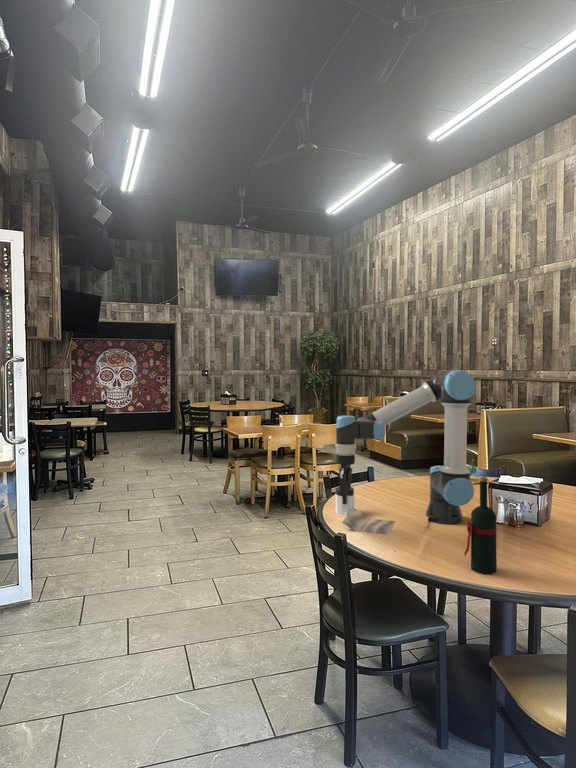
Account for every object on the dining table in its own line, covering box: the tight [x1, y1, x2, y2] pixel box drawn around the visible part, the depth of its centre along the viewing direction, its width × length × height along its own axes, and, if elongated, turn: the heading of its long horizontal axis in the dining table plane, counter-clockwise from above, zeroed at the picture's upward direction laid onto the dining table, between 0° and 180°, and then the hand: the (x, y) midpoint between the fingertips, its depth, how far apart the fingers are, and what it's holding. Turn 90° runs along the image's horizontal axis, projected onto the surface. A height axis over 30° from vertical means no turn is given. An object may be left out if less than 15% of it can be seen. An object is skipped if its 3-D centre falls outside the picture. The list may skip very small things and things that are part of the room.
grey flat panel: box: [361, 518, 397, 536], centre depth 200 cm, size 23×20×1 cm
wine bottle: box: [463, 476, 498, 575], centre depth 157 cm, size 8×10×30 cm
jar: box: [334, 486, 355, 516], centre depth 219 cm, size 9×8×12 cm
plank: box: [341, 507, 372, 533], centre depth 202 cm, size 8×18×1 cm, turn 158°
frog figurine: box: [467, 458, 490, 485], centre depth 278 cm, size 10×18×15 cm, turn 79°
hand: (345, 511), depth 198 cm, fingers closed
